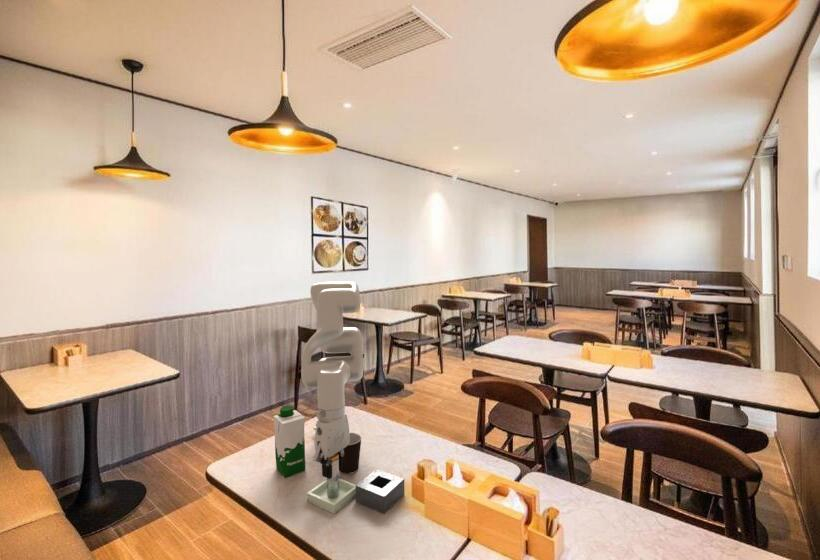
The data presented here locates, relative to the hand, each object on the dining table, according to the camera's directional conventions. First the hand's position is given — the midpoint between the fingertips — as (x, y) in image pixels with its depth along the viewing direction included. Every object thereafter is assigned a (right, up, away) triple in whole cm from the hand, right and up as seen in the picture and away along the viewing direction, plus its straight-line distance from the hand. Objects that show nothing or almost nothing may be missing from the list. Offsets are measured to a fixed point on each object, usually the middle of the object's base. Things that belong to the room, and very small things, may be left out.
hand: (332, 472), depth 115 cm
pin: (0, -7, 0) cm, 7 cm away
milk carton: (-17, -7, +15) cm, 24 cm away
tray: (0, -7, 0) cm, 8 cm away
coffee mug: (+2, -6, +18) cm, 19 cm away
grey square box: (+14, -7, 0) cm, 16 cm away
